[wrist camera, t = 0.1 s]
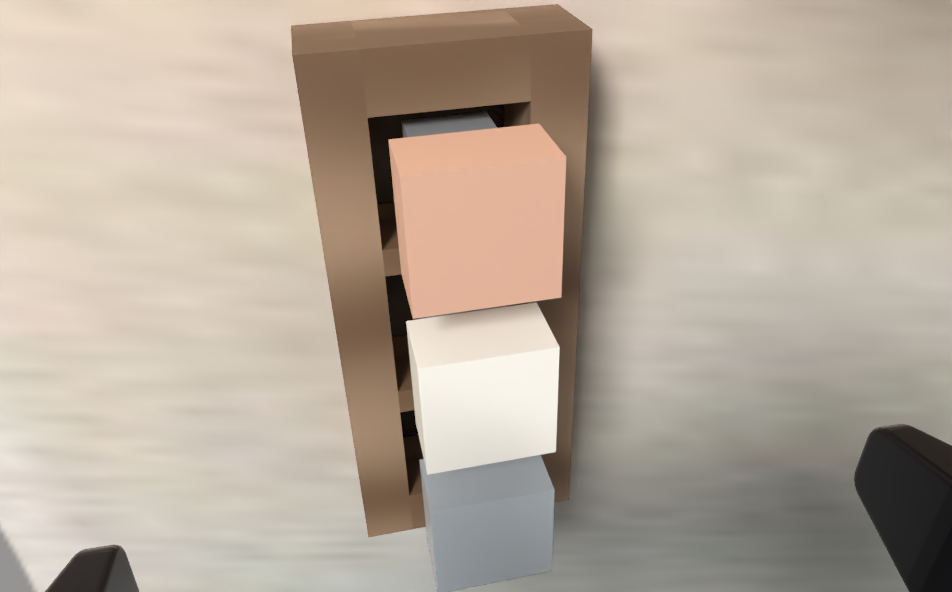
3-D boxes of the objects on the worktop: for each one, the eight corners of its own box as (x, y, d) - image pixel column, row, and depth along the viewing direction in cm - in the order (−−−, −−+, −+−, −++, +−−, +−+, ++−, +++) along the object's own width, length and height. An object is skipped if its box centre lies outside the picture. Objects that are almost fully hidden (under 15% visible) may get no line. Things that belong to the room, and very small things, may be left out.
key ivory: (510, 345, 24) (555, 452, 20) (402, 362, 23) (427, 475, 19) (509, 250, 22) (559, 347, 18) (392, 266, 22) (417, 369, 18)
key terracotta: (509, 206, 21) (561, 297, 17) (387, 221, 21) (412, 318, 17) (508, 86, 20) (566, 157, 16) (375, 99, 19) (399, 175, 15)
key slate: (511, 457, 27) (551, 570, 23) (414, 474, 26) (438, 594, 22) (510, 380, 25) (554, 490, 21) (406, 397, 24) (430, 512, 20)
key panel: (546, 444, 29) (568, 499, 27) (361, 477, 28) (368, 537, 26) (557, 4, 20) (592, 28, 18) (291, 26, 19) (292, 55, 17)
